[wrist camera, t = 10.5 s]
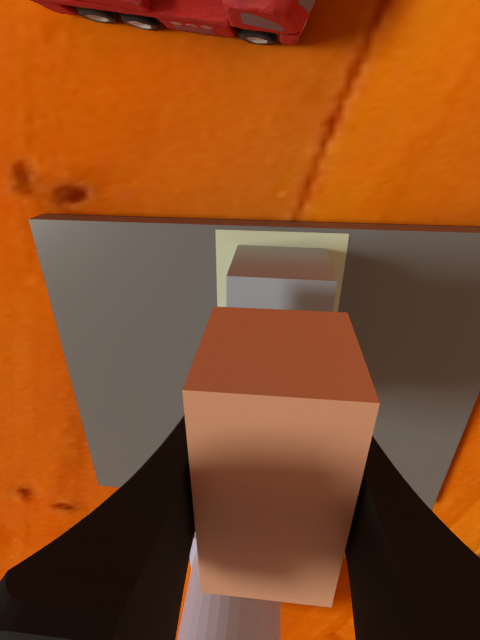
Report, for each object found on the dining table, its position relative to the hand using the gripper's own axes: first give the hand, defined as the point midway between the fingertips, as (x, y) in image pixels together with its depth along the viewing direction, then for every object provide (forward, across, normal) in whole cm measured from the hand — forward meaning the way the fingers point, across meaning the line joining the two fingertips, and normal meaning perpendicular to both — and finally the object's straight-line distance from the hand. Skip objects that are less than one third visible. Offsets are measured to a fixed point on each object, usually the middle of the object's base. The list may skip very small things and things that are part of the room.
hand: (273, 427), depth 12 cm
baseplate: (+8, 0, +4) cm, 10 cm away
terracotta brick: (+1, 0, 0) cm, 1 cm away
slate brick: (+7, 0, 0) cm, 7 cm away
